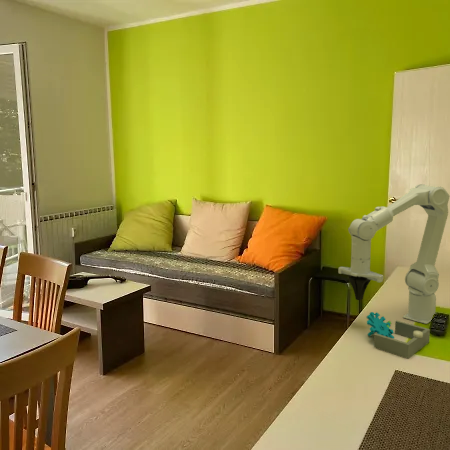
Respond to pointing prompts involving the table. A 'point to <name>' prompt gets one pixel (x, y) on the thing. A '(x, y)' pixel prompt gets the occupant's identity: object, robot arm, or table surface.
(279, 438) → the table surface
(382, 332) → the gear
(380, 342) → the housing
